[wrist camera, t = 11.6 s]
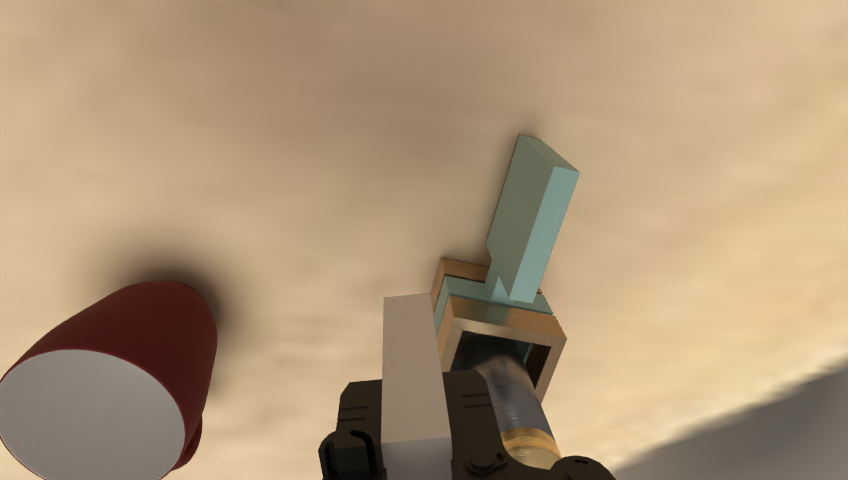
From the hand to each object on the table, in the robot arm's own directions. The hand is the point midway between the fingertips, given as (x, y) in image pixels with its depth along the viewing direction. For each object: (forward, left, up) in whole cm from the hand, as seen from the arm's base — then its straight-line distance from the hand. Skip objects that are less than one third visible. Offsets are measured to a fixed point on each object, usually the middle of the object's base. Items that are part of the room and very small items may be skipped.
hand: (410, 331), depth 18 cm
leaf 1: (+2, +6, -14) cm, 15 cm away
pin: (+6, +6, -14) cm, 16 cm away
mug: (+11, -11, -14) cm, 21 cm away
